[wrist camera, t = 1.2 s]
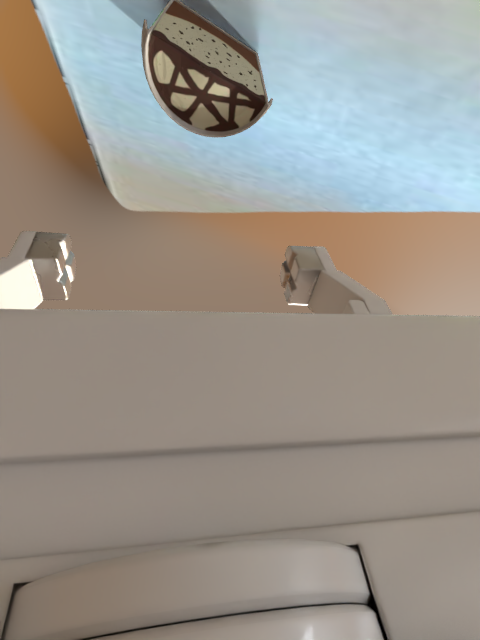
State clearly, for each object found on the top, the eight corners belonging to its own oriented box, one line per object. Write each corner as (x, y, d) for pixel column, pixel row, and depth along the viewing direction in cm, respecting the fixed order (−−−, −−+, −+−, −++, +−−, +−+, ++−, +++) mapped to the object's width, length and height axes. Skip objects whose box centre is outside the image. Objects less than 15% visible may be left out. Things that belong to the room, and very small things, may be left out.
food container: (138, 53, 38) (120, 102, 33) (157, -15, 34) (140, 29, 28) (241, 112, 43) (240, 163, 38) (269, 61, 39) (273, 110, 33)
